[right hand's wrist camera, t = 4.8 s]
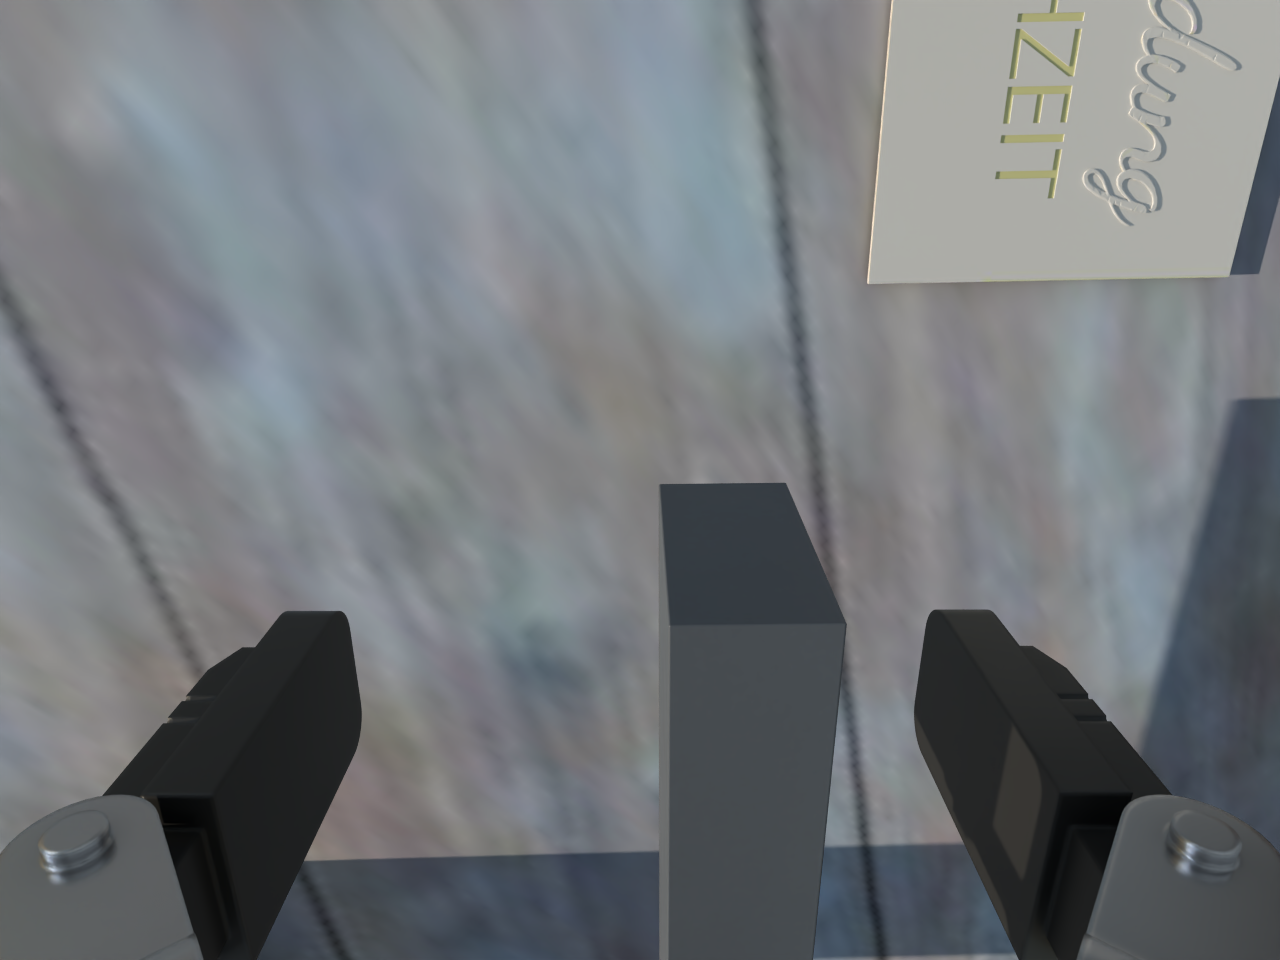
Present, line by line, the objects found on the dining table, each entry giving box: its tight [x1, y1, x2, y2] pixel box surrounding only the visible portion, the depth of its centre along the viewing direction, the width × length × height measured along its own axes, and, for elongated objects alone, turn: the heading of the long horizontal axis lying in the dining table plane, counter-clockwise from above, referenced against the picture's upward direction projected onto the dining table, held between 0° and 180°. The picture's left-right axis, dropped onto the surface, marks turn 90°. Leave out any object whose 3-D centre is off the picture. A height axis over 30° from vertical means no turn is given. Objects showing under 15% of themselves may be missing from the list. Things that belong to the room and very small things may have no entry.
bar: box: [659, 483, 847, 960], centre depth 31 cm, size 28×5×10 cm, turn 0°
